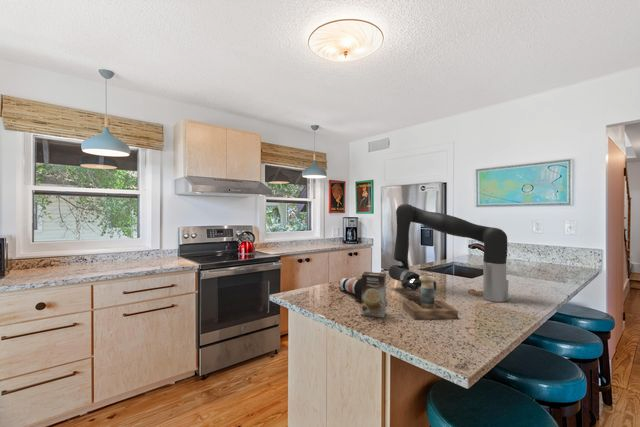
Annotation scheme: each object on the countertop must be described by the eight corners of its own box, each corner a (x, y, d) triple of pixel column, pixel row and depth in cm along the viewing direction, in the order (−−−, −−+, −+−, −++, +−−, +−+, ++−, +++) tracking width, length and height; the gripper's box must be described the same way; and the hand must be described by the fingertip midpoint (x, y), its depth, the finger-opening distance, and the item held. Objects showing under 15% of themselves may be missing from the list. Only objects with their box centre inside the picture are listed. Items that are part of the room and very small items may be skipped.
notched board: (441, 307, 128) (442, 300, 128) (457, 318, 115) (457, 310, 115) (402, 308, 126) (402, 301, 126) (414, 319, 114) (414, 311, 113)
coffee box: (360, 315, 118) (360, 274, 118) (363, 310, 124) (363, 271, 124) (384, 317, 115) (384, 276, 115) (386, 312, 121) (386, 272, 121)
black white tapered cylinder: (344, 295, 162) (350, 277, 165) (380, 307, 131) (388, 285, 133) (328, 288, 159) (335, 270, 161) (362, 298, 128) (370, 276, 130)
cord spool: (431, 309, 125) (431, 275, 125) (438, 314, 119) (438, 279, 119) (416, 309, 125) (417, 275, 125) (422, 314, 119) (423, 279, 119)
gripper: (395, 271, 140) (408, 279, 124) (425, 271, 141) (441, 279, 125) (395, 287, 140) (408, 297, 124) (425, 287, 141) (441, 297, 125)
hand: (425, 288), depth 124 cm, fingers open, 8 cm apart
